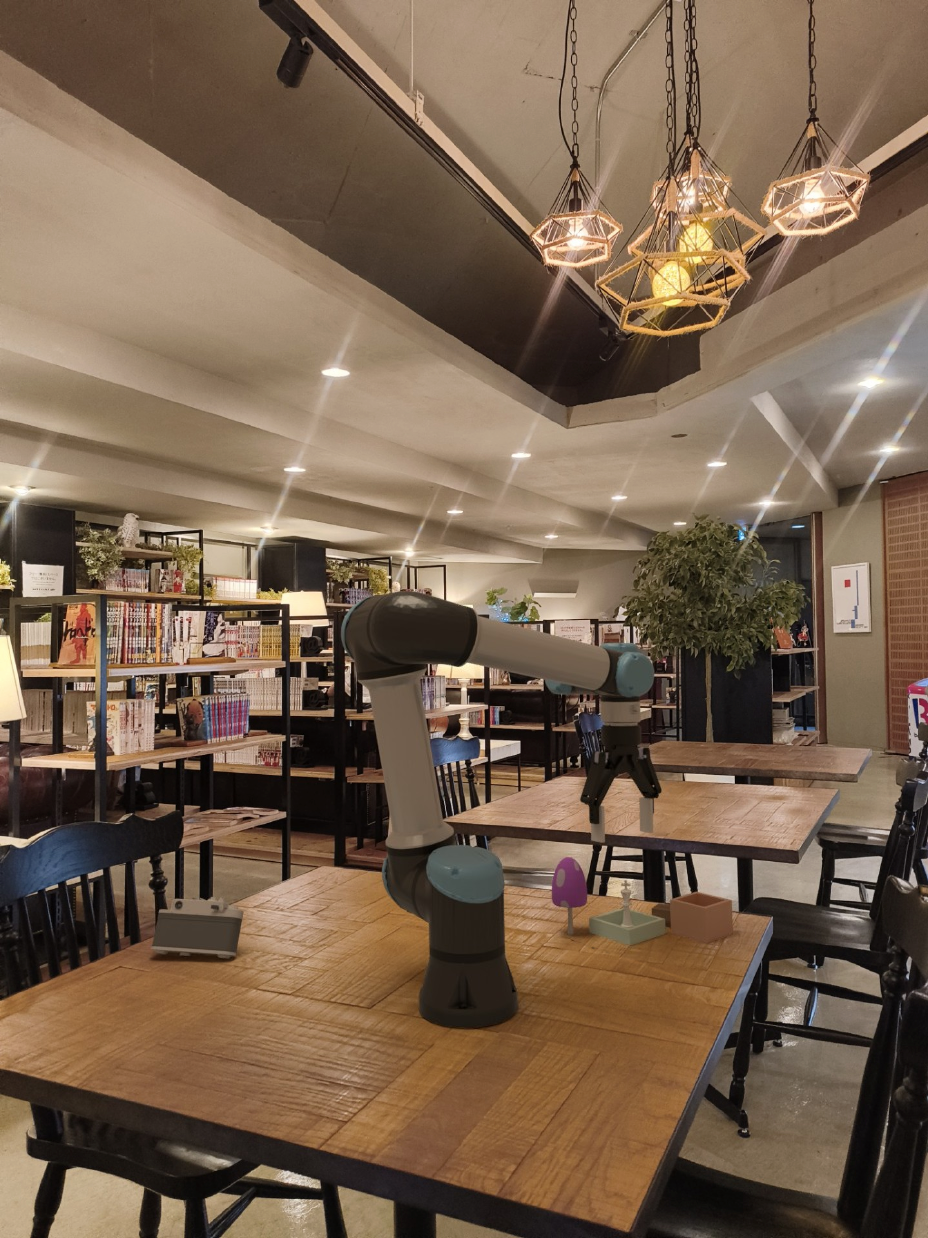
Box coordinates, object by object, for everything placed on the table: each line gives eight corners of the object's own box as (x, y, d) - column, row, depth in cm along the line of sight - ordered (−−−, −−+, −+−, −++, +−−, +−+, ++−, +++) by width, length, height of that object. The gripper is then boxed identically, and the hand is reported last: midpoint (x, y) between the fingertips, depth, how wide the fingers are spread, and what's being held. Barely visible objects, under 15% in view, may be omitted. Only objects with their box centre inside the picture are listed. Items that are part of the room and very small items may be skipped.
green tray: (629, 950, 158) (629, 930, 158) (589, 936, 165) (589, 918, 166) (665, 937, 164) (665, 919, 164) (625, 925, 172) (624, 907, 172)
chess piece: (640, 938, 162) (638, 884, 162) (613, 937, 163) (611, 883, 163) (641, 930, 167) (639, 877, 167) (615, 929, 168) (613, 876, 168)
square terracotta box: (706, 948, 158) (705, 908, 158) (671, 937, 164) (669, 899, 164) (733, 938, 163) (731, 900, 163) (697, 928, 169) (696, 891, 169)
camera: (229, 957, 155) (240, 897, 160) (144, 951, 157) (158, 892, 162) (247, 962, 163) (257, 905, 168) (166, 956, 165) (178, 900, 170)
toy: (590, 943, 162) (588, 861, 162) (554, 943, 162) (552, 862, 162) (586, 931, 168) (584, 853, 169) (551, 932, 169) (549, 854, 169)
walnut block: (672, 932, 167) (671, 911, 167) (652, 929, 169) (651, 908, 170) (679, 926, 171) (678, 906, 171) (659, 923, 173) (658, 903, 173)
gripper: (589, 728, 156) (591, 849, 155) (678, 721, 171) (680, 831, 170) (560, 726, 161) (561, 842, 160) (648, 719, 177) (650, 825, 176)
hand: (622, 836), depth 165 cm, fingers open, 13 cm apart
